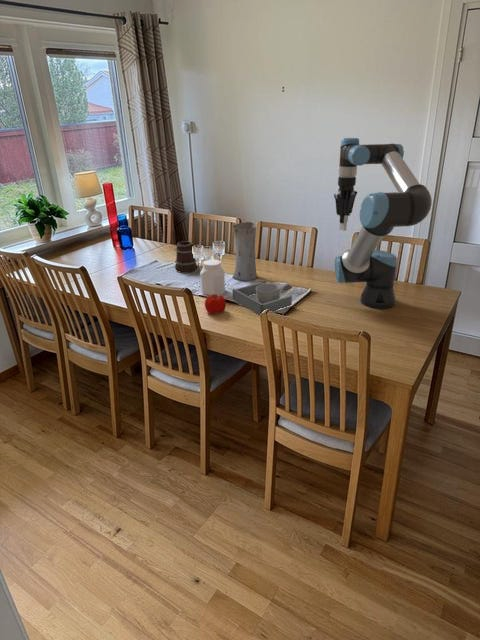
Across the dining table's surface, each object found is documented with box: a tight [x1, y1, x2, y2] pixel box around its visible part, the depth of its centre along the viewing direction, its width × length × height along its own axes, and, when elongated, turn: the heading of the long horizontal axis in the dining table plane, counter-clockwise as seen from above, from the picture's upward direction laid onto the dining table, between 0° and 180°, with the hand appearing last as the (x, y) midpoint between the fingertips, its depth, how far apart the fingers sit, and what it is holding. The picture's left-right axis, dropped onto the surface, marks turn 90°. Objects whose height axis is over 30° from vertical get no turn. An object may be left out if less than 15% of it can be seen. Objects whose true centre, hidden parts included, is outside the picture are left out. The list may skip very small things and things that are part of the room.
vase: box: [232, 221, 258, 282], centre depth 225 cm, size 13×14×28 cm
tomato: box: [204, 294, 227, 315], centre depth 192 cm, size 9×9×8 cm
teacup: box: [255, 281, 281, 304], centre depth 201 cm, size 14×11×8 cm
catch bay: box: [231, 281, 293, 316], centre depth 200 cm, size 22×17×5 cm
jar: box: [199, 259, 226, 296], centre depth 211 cm, size 12×10×15 cm
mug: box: [174, 240, 198, 273], centre depth 243 cm, size 16×12×15 cm
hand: (342, 229), depth 202 cm, fingers closed
